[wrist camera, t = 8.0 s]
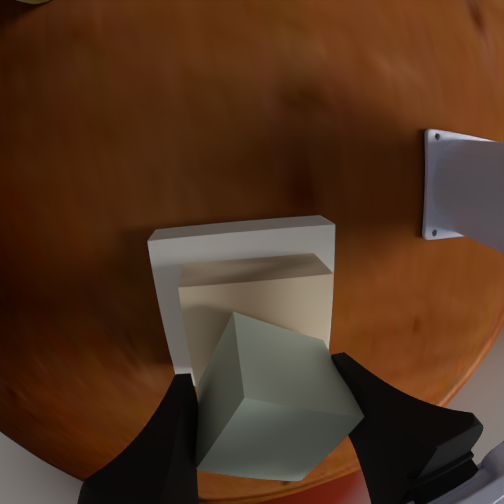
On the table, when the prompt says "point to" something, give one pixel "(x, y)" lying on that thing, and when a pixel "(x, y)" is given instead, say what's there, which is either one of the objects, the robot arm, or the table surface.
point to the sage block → (270, 403)
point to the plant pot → (33, 1)
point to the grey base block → (227, 248)
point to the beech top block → (253, 299)
